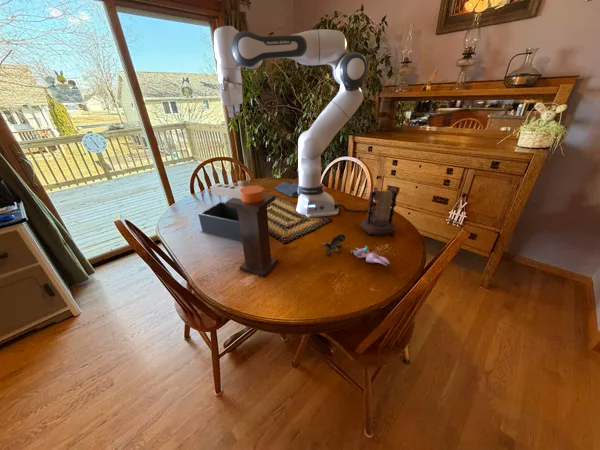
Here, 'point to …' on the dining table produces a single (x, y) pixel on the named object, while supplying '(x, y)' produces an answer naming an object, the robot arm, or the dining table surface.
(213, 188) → the extension cord
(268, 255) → the stand
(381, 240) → the dining table surface
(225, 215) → the compartment
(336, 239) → the grey animal figurine
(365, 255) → the rabbit figure
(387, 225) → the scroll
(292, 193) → the dark slate chunk
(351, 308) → the dining table surface
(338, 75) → the robot arm
